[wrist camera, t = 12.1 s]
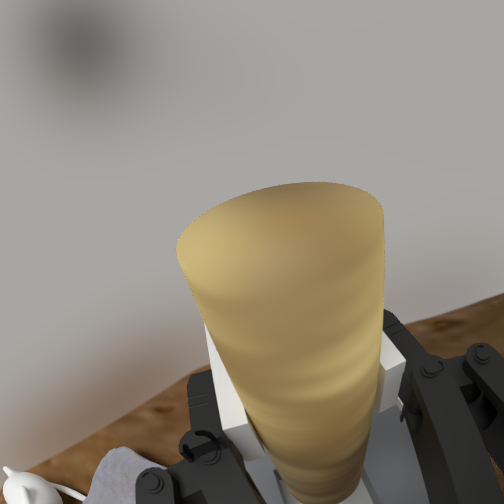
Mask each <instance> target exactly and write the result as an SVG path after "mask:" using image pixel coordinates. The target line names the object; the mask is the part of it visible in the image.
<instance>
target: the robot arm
mask: <svg viewBox="0 0 504 504" xmlns="http://www.w3.org/2000/svg"><path fill="white" fill-rule="evenodd" d="M204 324H205V323H204ZM205 331H206V337H207V344H208V349H209V356H210V363H211V370H207V371H203V372H200V373H196V374H192V375H191V376H190V379H189V381H188V384H187V394H188V404H189V414H190V423H191V430H190V431H188V432H186V433H185V434H184V436H183V437H182V438H181V440H180V443H179V453H180V454H181V455H182V456H183V457H184V458H185V459H183V460H182V461H180V462H179V463H177V464H175V465H173V466H171V467H169V468H167V469H165V470H164V469H162V468H160V467H151V468H147V469H145V470H144V471H142V472H141V473H140V474H139V476H138V477H137V479H136V484H135V500H136V504H267V503H266V502H265V500H264V498H263V497H262V495H261V493H260V492H259V490H258V488H257V486H256V485H255V483H254V481H253V480H252V478H251V476H250V474H249V473H248V471H247V470H246V468H245V464H244V460H245V462H248V461H252V460H255V459H259V458H263V457H266V454H265V450H264V447H263V444H262V441H261V439H260V437H259V435H258V433H257V431H256V429H255V427H254V426H253V424H252V422H251V420H250V418H249V416H248V414H247V412H246V410H245V408H244V406H243V404H242V402H241V400H240V398H239V396H238V394H237V392H236V390H235V388H234V386H233V384H232V382H231V380H230V378H229V375H228V373H227V371H226V369H225V367H224V365H223V363H222V360H221V358H220V356H219V354H218V352H217V350H216V347H215V345H214V343H213V341H212V339H211V336H210V334H209V332H208V330H207V327H206V325H205ZM398 397H399V398H400V400H401V401H402V403H403V408H402V411H401V415H400V422H403V419H404V418H405V421H406V424H407V427H408V430H409V433H410V436H411V439H412V442H413V446H414V449H415V452H416V455H417V459H418V462H419V466H420V469H421V473H422V476H423V480H424V483H425V487H426V491H427V495H428V499H429V503H430V504H504V498H503V495H502V492H501V489H500V486H499V483H498V480H497V477H496V474H495V471H494V468H493V466H492V463H491V460H490V458H489V455H488V453H489V454H490V455H491V457H492V458H493V459H494V461H495V462H496V464H497V465H498V466H499V468H500V469H501V471H502V472H503V474H504V358H503V357H502V356H501V355H500V354H499V353H498V352H497V351H496V350H495V349H494V348H493V347H491V346H490V345H488V344H485V343H476V344H473V345H471V346H470V347H469V348H468V350H467V352H466V355H463V356H459V357H455V358H451V359H442V358H440V357H438V356H435V355H430V354H429V353H427V352H426V351H425V349H424V348H423V347H422V346H421V345H420V344H419V342H418V341H417V340H416V339H415V338H414V337H413V336H412V334H411V333H410V332H409V331H408V330H406V328H405V326H404V325H403V324H402V323H400V321H399V320H398V319H397V317H395V315H394V314H393V313H391V312H389V311H387V310H385V309H384V310H383V328H382V342H381V354H380V364H379V374H378V382H377V390H376V398H375V405H374V406H375V407H376V409H377V411H378V412H379V413H380V412H382V411H384V410H386V409H388V408H390V407H392V406H394V405H396V404H397V400H398ZM487 451H488V452H487ZM243 459H244V460H243Z"/></svg>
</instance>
